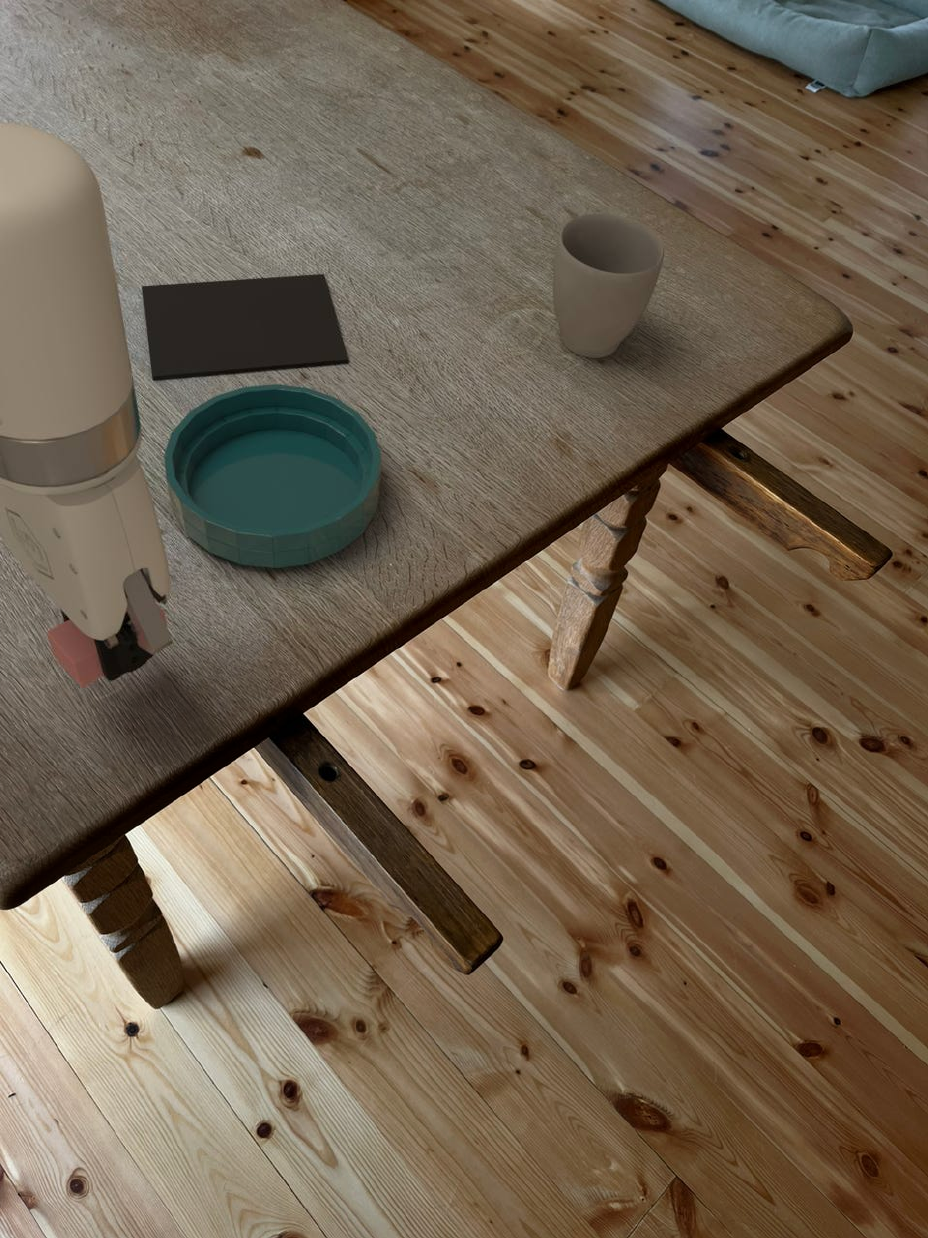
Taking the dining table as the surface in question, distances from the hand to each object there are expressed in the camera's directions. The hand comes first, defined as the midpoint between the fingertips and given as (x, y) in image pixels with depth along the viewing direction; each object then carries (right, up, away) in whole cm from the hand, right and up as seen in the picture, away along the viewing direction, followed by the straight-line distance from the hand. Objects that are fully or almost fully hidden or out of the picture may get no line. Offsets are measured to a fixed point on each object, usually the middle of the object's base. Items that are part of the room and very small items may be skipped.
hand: (112, 644), depth 61 cm
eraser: (0, 0, 0) cm, 0 cm away
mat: (+2, +27, +26) cm, 37 cm away
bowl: (+7, +11, +15) cm, 20 cm away
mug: (+32, +28, +31) cm, 52 cm away
